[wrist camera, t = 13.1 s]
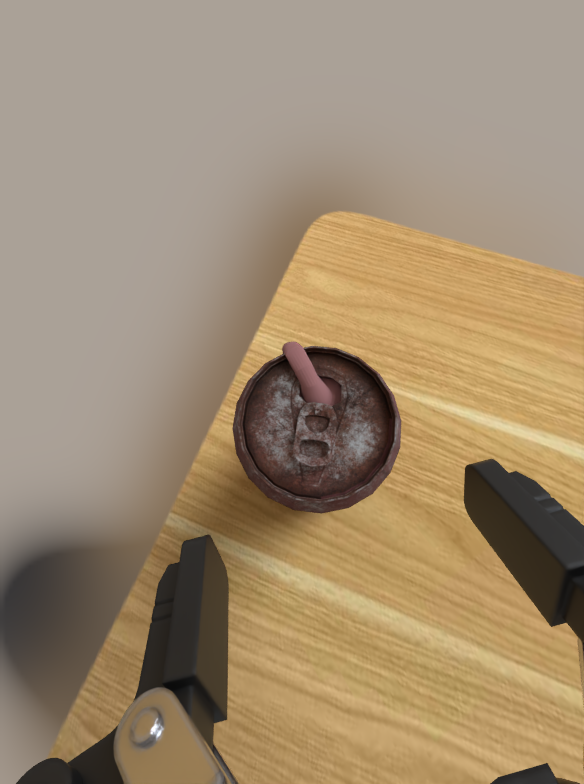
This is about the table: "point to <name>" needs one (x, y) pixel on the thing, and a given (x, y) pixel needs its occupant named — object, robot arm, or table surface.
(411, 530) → the table surface
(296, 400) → the can
